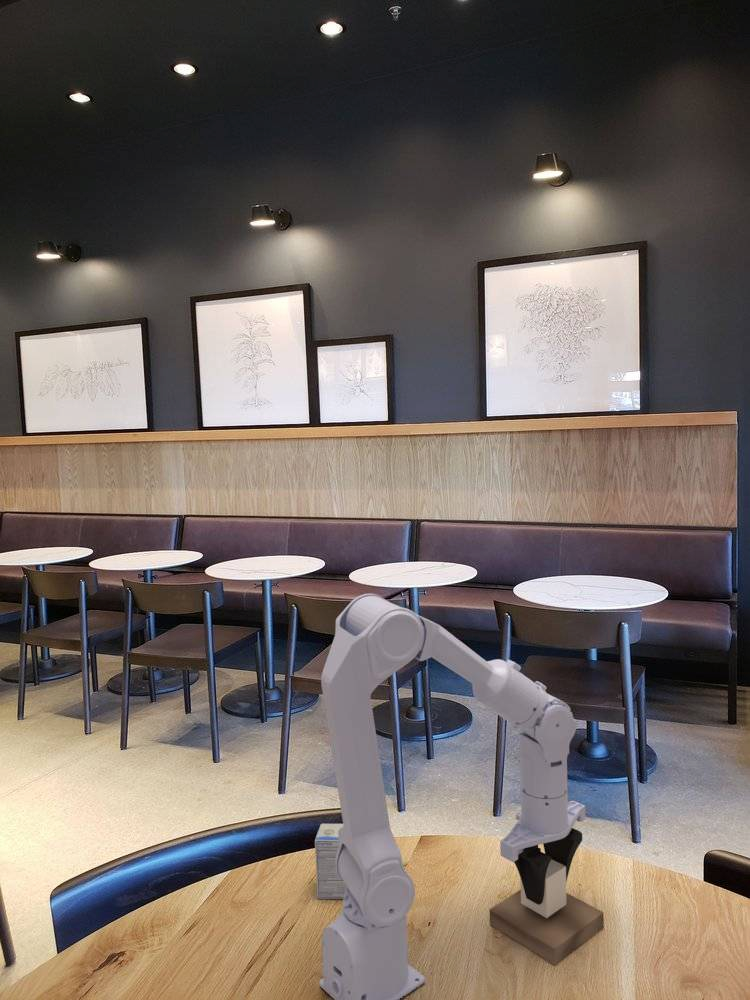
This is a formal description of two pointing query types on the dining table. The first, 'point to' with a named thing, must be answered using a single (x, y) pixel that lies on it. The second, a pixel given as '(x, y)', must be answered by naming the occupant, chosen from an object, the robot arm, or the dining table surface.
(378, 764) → the robot arm
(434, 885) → the dining table surface
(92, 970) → the dining table surface
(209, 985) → the dining table surface
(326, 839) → the medicine box
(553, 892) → the off-white block
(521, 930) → the walnut plinth
